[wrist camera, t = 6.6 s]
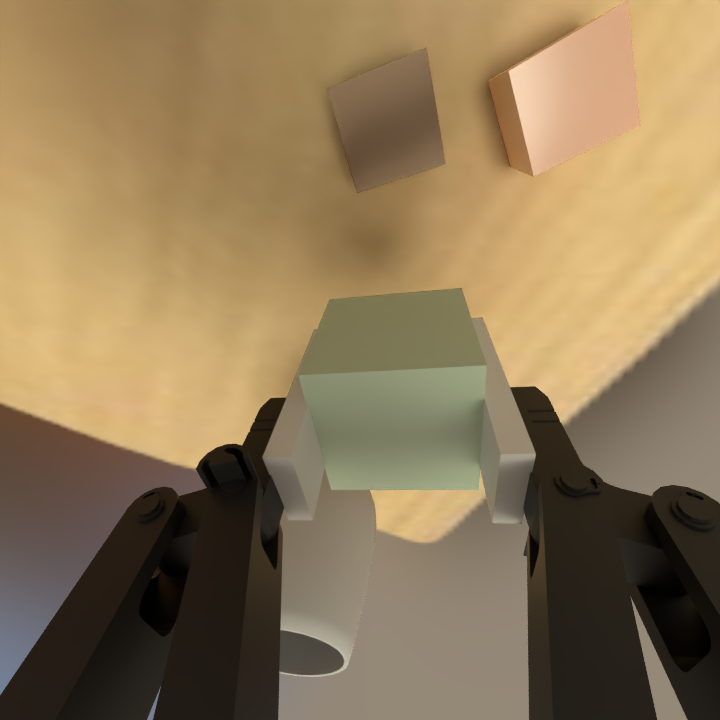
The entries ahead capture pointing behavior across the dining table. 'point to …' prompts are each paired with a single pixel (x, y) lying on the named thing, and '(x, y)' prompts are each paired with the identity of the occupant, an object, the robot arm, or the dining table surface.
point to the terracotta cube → (569, 94)
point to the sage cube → (397, 392)
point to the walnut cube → (389, 121)
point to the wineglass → (325, 581)
